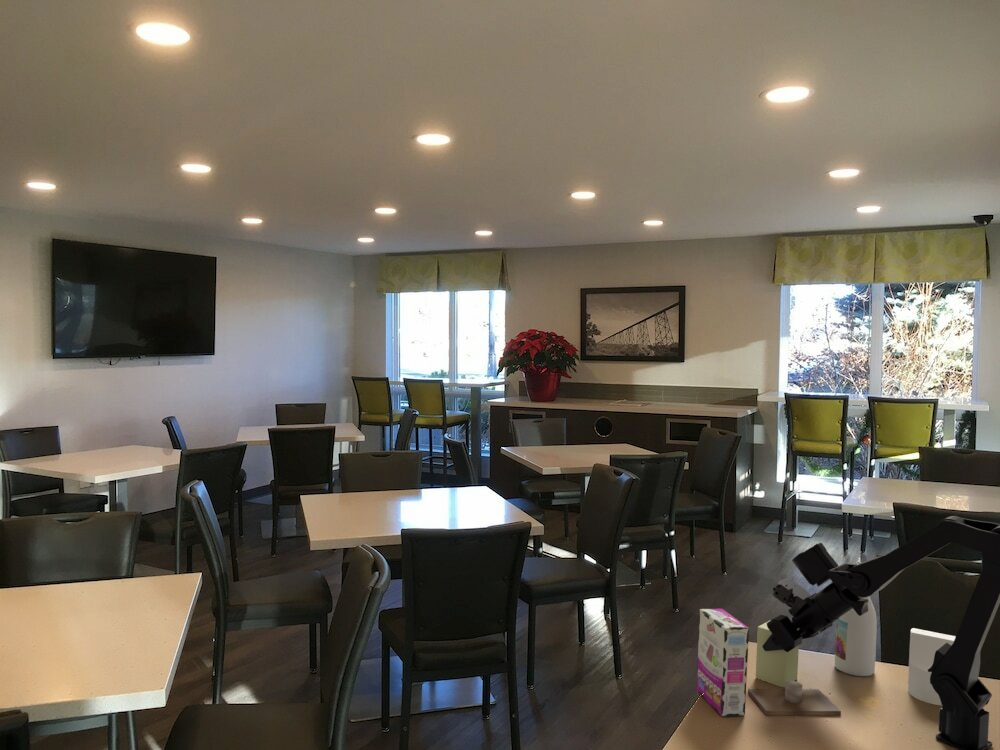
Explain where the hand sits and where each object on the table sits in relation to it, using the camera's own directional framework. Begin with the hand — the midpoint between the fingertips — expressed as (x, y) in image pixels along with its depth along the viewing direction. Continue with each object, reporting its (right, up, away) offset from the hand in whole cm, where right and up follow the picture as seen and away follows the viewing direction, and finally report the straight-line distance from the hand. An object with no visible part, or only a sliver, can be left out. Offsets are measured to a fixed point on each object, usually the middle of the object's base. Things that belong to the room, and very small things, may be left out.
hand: (771, 644), depth 159 cm
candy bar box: (-14, -7, -12) cm, 20 cm away
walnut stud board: (0, -7, -12) cm, 14 cm away
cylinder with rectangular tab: (+30, -8, -6) cm, 31 cm away
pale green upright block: (+1, -7, -1) cm, 7 cm away
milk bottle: (+19, -7, +5) cm, 21 cm away
